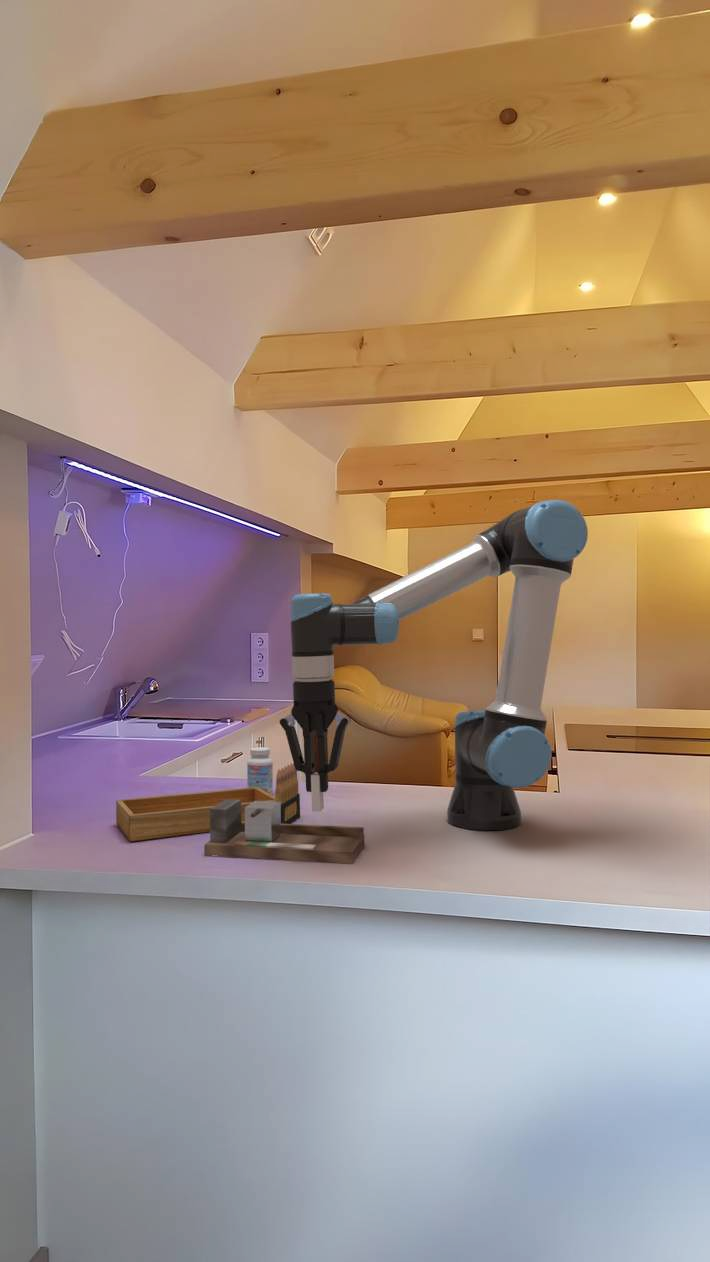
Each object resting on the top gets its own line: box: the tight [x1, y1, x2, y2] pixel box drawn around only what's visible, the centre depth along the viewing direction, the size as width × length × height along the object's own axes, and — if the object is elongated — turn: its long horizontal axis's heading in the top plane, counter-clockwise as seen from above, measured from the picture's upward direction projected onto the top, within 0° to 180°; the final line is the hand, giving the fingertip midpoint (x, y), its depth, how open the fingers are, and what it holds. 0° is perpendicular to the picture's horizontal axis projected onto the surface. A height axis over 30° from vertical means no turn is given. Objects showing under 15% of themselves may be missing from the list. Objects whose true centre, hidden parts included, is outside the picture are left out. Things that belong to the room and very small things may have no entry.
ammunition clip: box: [274, 762, 301, 824], centre depth 161 cm, size 11×2×12 cm, turn 164°
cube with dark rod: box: [245, 801, 281, 842], centre depth 141 cm, size 5×9×6 cm, turn 168°
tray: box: [115, 787, 275, 842], centre depth 161 cm, size 31×15×6 cm, turn 117°
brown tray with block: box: [203, 799, 366, 865], centre depth 141 cm, size 27×11×8 cm, turn 78°
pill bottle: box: [246, 746, 274, 795], centre depth 187 cm, size 6×6×11 cm
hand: (317, 809), depth 140 cm, fingers closed
